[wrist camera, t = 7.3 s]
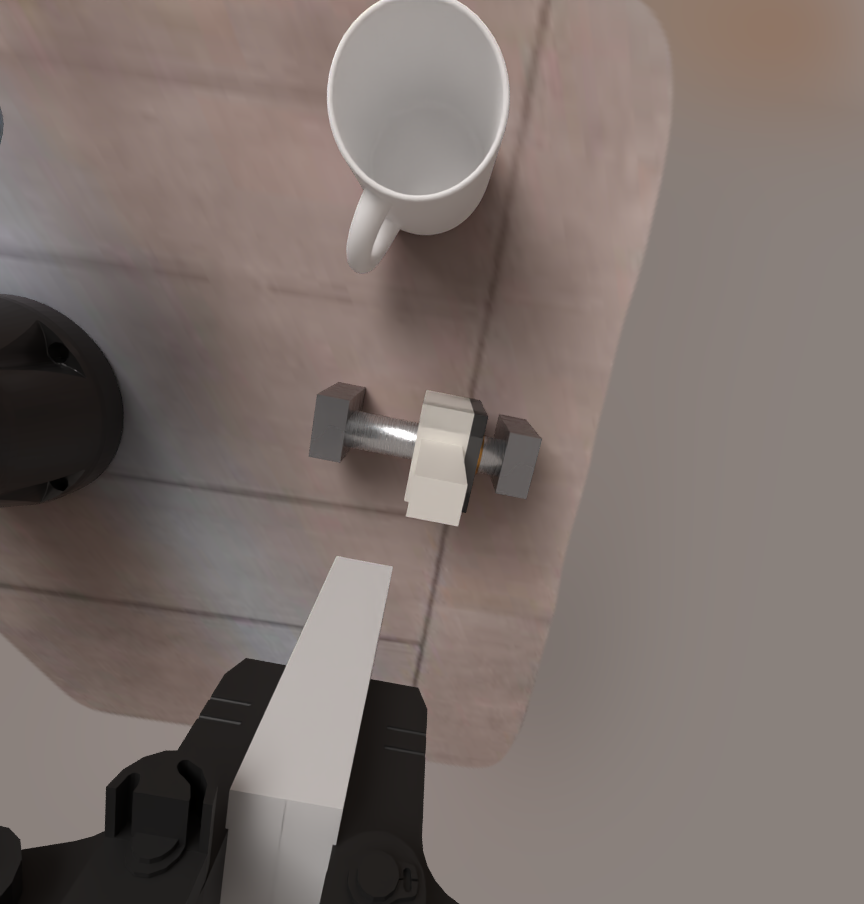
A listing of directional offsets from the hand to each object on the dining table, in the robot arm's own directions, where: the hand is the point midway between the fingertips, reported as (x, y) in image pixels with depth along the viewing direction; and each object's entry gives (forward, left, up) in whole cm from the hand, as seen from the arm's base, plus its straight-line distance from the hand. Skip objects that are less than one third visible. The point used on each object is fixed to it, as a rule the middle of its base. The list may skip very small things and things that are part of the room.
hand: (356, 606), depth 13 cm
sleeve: (+2, 0, -22) cm, 22 cm away
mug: (-3, +15, -24) cm, 29 cm away
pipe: (+1, 0, -24) cm, 24 cm away
